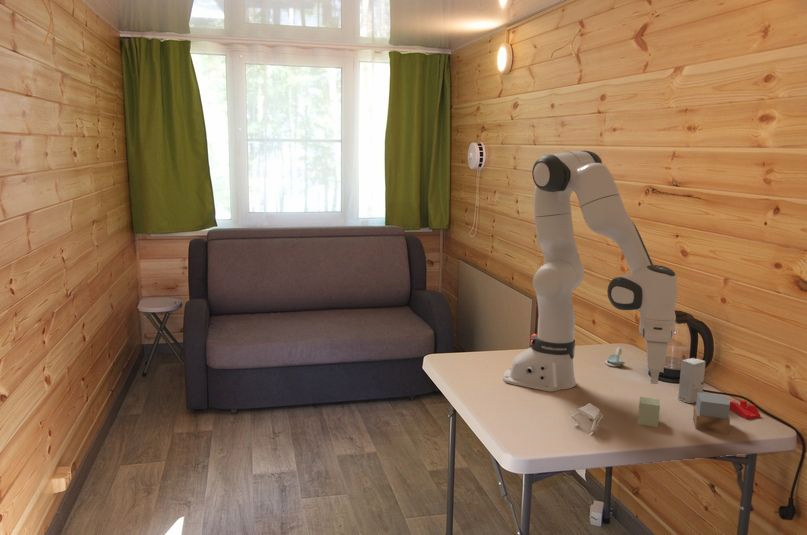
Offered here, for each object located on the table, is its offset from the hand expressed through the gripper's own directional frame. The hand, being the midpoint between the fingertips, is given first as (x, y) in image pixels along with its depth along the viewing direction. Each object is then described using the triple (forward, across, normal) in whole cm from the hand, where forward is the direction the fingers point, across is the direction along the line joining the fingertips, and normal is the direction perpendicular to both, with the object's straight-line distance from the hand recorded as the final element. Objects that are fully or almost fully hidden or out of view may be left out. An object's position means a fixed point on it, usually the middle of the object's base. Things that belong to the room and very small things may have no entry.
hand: (653, 377), depth 181 cm
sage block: (+13, 0, -1) cm, 13 cm away
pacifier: (+13, -48, -11) cm, 51 cm away
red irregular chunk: (+14, -17, +25) cm, 33 cm away
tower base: (+14, -4, +15) cm, 21 cm away
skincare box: (+13, -22, +11) cm, 28 cm away
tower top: (+10, -4, +15) cm, 18 cm away
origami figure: (+13, +10, -16) cm, 23 cm away
